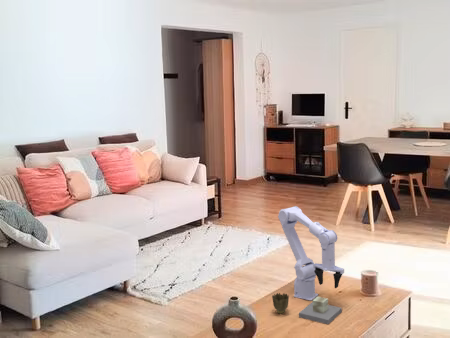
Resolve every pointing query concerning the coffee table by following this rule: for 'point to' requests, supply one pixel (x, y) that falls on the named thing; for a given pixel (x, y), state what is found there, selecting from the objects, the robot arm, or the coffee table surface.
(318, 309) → the sage block
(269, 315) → the coffee table surface
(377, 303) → the coffee table surface
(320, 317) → the charcoal base
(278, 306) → the cup
